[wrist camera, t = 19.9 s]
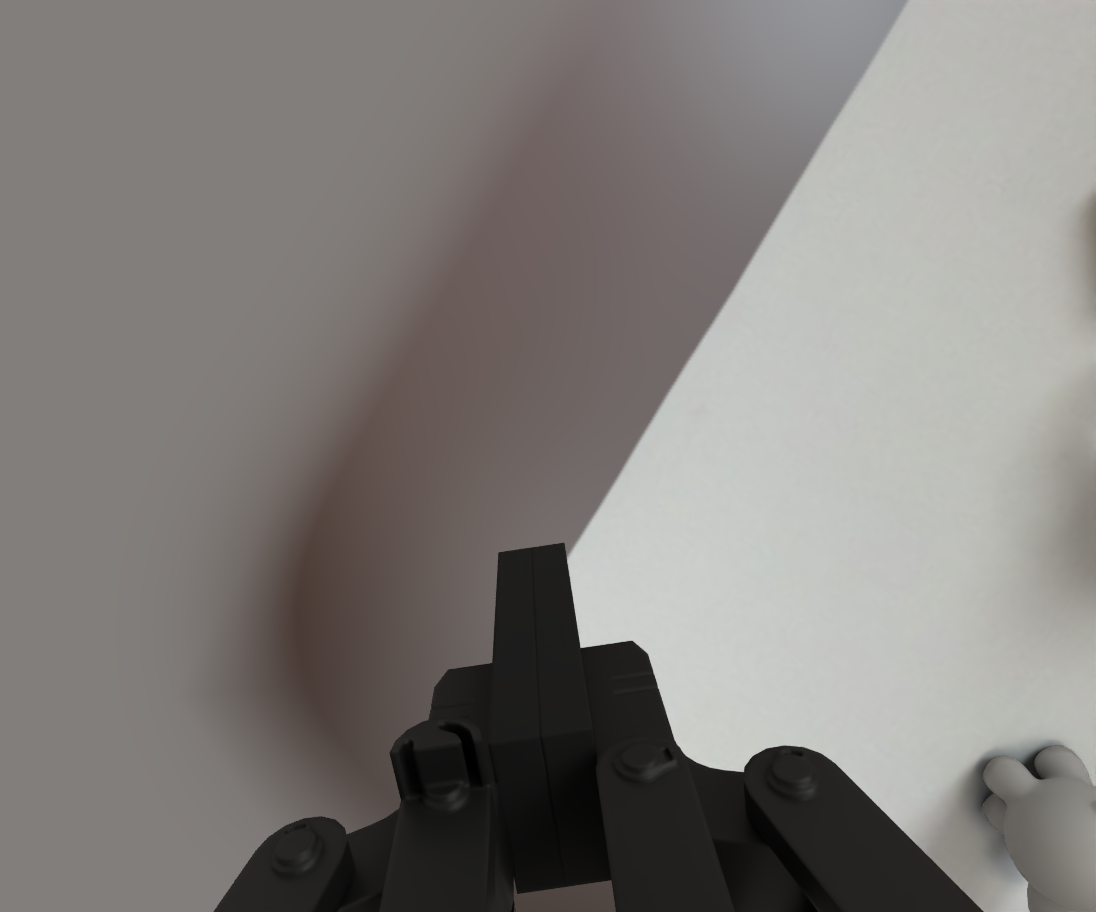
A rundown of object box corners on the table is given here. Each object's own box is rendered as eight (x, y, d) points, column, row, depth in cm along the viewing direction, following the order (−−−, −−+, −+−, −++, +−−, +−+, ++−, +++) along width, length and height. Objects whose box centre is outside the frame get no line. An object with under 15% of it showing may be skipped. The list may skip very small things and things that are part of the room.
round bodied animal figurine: (959, 889, 52) (1042, 1012, 44) (971, 744, 48) (1063, 848, 40) (1062, 877, 52) (1164, 998, 44) (1081, 732, 48) (1195, 833, 40)
